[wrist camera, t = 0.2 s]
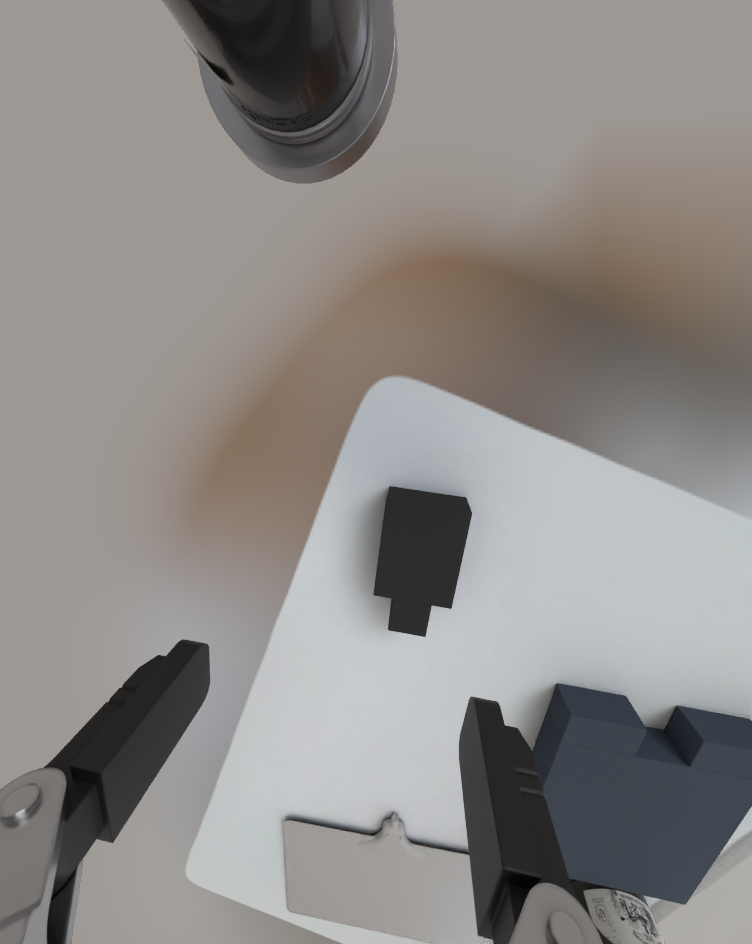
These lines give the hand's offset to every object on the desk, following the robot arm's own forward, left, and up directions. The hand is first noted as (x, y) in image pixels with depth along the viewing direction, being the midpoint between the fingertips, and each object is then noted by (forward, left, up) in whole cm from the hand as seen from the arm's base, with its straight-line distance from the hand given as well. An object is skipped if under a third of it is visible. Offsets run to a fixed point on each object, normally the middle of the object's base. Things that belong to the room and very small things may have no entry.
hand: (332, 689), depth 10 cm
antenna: (+49, +6, -18) cm, 52 cm away
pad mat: (+26, +25, -18) cm, 40 cm away
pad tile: (+5, +3, -18) cm, 19 cm away
